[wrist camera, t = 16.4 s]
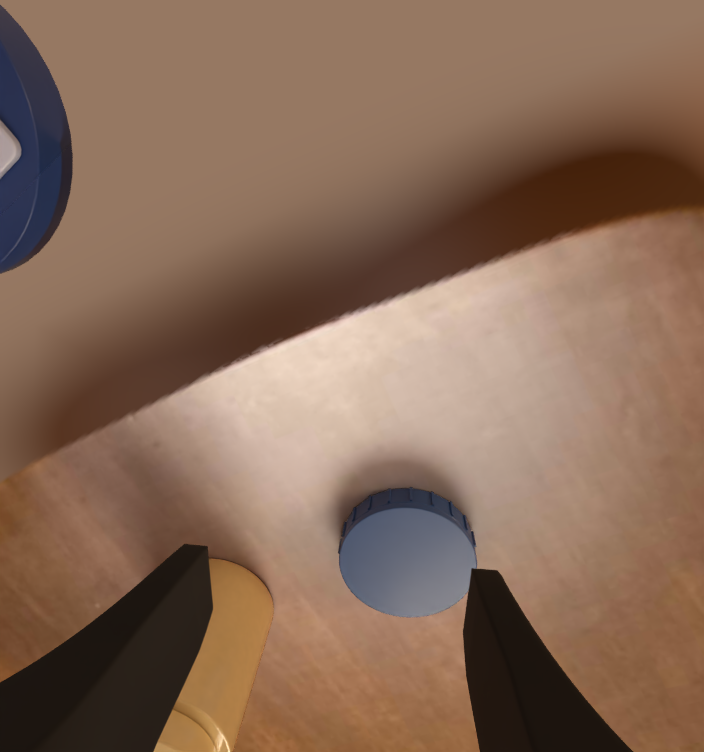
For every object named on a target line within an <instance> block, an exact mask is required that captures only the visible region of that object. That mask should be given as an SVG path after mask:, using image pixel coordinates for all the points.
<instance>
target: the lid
mask: <svg viewBox="0 0 704 752" xmlns="http://www.w3.org/2000/svg"><path fill="white" fill-rule="evenodd" d="M474 547H476V543H475V538H474V533H473V531H471V529H470V527H469V524H468V522H467V519H466V516H465V515H462V513H461V512H460V511H459V510H458V509H457V508H456V507H455V506H454V505H453V504H452V502H451V501H450V502H448V501H447V500H446V499H444V498H442V497H440V496H438V495H436V494H434V492H432V491H431V492H427V491H423V490H418V489H412V487H410V489H409V488H401V489H392V490H391V489H388V490H387V491H384V492H380V493H377V494H375V495H373V496H371V495H370V496H369V498H368V499H366V500H365V501H363V502H362V503H361V504H360V505H358V506H357V507H354V508H353V512H352V513H351V515H350V516H349V518H348V520H347V522H344V525H343V531H342V538H341V539H340V545H339V551H338V554H339V566H340V571H341V574H342V577H343V579H344V581H345V583H346V585H347V586H348V588H349V589H350V590H351V592H352V593H353V594H354V595H355V596H356V597H357V598H358V599H359V600H361V601H362V602H363V603H365V604H366V605H368V606H369V607H371V608H373V609H375V610H377V611H380V612H383V613H385V614H389V615H393V616H399V617H422V616H428V615H432V614H436V613H439V612H441V611H444V610H446V609H448V608H450V607H451V606H453V605H454V604H456V603H457V602H458V601H459V600H460V599H462V598H463V596H464V595H465V594H466V593H467V592H468V590H469V584H470V577H471V569H472V568H474V569H476V568H477V559H476V553H475V548H474Z"/></svg>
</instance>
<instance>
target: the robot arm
mask: <svg viewBox="0 0 704 752" xmlns="http://www.w3.org/2000/svg"><path fill="white" fill-rule="evenodd" d="M21 151H22V149H21V146H20V143H19V142H18V140H17V138H16V137H15V136H14V135H13V134H12V133H11V131H10V130H9V129H8V128H7V127H6V126H5V124H4V123H3V122H2V121H1V120H0V179H1V178H2V177H3V176H4V174H5V173H6V172H7V171H8V170H9V169H10V168H11V167H12V166H13V165H14V164H15V163H16V162H17V161H18V160H19V158H20V156H21ZM212 612H213V599H212V589H211V578H210V568H209V557H208V547H207V546H200V545H188V544H184V545H183V546H181V547H180V548H179V549H178V550H177V551H176V552H174V553H173V554H172V555H171V556H170V557H169V558H167V559H166V560H165V561H164V562H163V563H162V564H161V565H160V566H158V567H157V568H156V569H155V570H154V571H153V572H152V573H151V574H149V575H148V576H147V577H146V578H145V579H144V580H143V581H141V582H140V583H139V584H138V585H137V586H136V587H134V588H133V589H132V590H131V591H130V592H128V593H127V594H126V595H125V596H124V597H123V598H121V599H120V600H119V601H118V602H117V603H115V604H114V605H113V606H112V607H110V608H109V609H108V610H107V611H105V612H104V613H103V614H102V615H100V616H99V617H98V618H96V619H95V620H94V621H93V622H91V623H90V624H89V625H87V626H86V627H85V628H84V629H82V630H81V631H80V632H78V633H77V634H75V635H74V636H73V637H71V638H70V639H68V640H67V641H66V642H64V643H63V644H61V645H60V646H58V647H57V648H55V649H54V650H52V651H51V652H49V653H48V654H46V655H45V656H43V657H42V658H40V659H39V660H37V661H36V662H34V663H32V664H31V665H29V666H28V667H26V668H24V669H22V670H21V671H19V672H17V673H16V674H14V675H12V676H11V677H9V678H7V679H6V680H4V681H2V682H1V683H0V752H154V749H155V747H156V744H157V742H158V740H159V738H160V736H161V733H162V731H163V729H164V727H165V725H166V723H167V720H168V718H169V716H170V714H171V712H172V710H173V708H174V705H175V703H176V701H177V699H178V697H179V695H180V692H181V690H182V688H183V686H184V684H185V682H186V680H187V677H188V675H189V673H190V671H191V669H192V666H193V664H194V662H195V660H196V658H197V655H198V653H199V651H200V648H201V645H202V642H203V640H204V637H205V634H206V631H207V628H208V624H209V621H210V618H211V615H212ZM463 639H464V653H465V666H466V677H467V683H468V688H469V694H470V699H471V705H472V711H473V716H474V722H475V727H476V732H477V738H478V743H479V749H480V752H633V751H632V750H631V749H630V748H629V747H628V746H627V745H626V744H625V743H624V742H623V741H622V740H621V739H620V738H619V736H618V735H617V734H616V733H615V732H614V731H613V730H612V729H611V728H610V727H609V726H608V724H607V723H606V722H605V721H604V720H603V719H602V718H601V717H600V715H599V714H598V713H597V712H596V711H595V710H594V708H593V707H592V706H591V705H590V704H589V703H588V701H587V700H586V699H585V698H584V697H583V695H582V694H581V693H580V692H579V690H578V689H577V688H576V687H575V685H574V684H573V683H572V682H571V680H570V679H569V678H568V676H567V675H566V674H565V672H564V671H563V670H562V668H561V667H560V666H559V664H558V663H557V662H556V660H555V659H554V658H553V656H552V655H551V653H550V652H549V651H548V649H547V648H546V646H545V645H544V643H543V642H542V640H541V639H540V637H539V636H538V635H537V633H536V632H535V630H534V629H533V627H532V626H531V624H530V623H529V621H528V619H527V618H526V616H525V615H524V613H523V611H522V610H521V608H520V607H519V605H518V603H517V602H516V600H515V598H514V597H513V595H512V593H511V592H510V590H509V588H508V586H507V585H506V583H505V581H504V579H503V577H502V575H501V574H500V573H499V572H498V571H497V570H486V569H474V568H472V569H471V577H470V584H469V591H468V599H467V606H466V614H465V621H464V629H463Z"/></svg>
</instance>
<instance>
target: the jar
mask: <svg viewBox="0 0 704 752" xmlns="http://www.w3.org/2000/svg"><path fill="white" fill-rule="evenodd" d="M209 568H210V578H211V589H212V599H213V612H212V615H211V618H210V621H209V624H208V628H207V631H206V634H205V637H204V640H203V642H202V645H201V648H200V651H199V653H198V655H197V658H196V660H195V662H194V664H193V666H192V669H191V671H190V673H189V675H188V677H187V680H186V682H185V684H184V686H183V688H182V690H181V692H180V695H179V697H178V699H177V701H176V703H175V705H174V708H173V710H172V712H171V714H170V716H169V718H168V720H167V723H166V725H165V727H164V729H163V731H162V733H161V736H160V738H159V740H158V742H157V744H156V747H155V749H154V752H234V748H235V745H236V742H237V738H238V735H239V731H240V728H241V725H242V721H243V718H244V715H245V711H246V708H247V704H248V701H249V698H250V694H251V691H252V688H253V684H254V681H255V677H256V674H257V671H258V667H259V664H260V661H261V657H262V654H263V650H264V647H265V644H266V640H267V637H268V634H269V630H270V627H271V623H272V620H273V615H274V606H273V601H272V598H271V595H270V593H269V591H268V589H267V588H266V586H265V585H264V583H263V582H262V581H261V580H260V579H259V578H258V577H257V576H256V575H254V574H253V573H252V572H250V571H249V570H248V569H246V568H244V567H242V566H240V565H238V564H235V563H233V562H229V561H226V560H221V559H213V558H209Z"/></svg>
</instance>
